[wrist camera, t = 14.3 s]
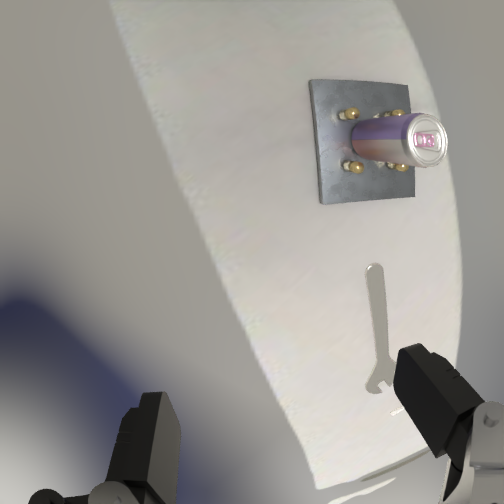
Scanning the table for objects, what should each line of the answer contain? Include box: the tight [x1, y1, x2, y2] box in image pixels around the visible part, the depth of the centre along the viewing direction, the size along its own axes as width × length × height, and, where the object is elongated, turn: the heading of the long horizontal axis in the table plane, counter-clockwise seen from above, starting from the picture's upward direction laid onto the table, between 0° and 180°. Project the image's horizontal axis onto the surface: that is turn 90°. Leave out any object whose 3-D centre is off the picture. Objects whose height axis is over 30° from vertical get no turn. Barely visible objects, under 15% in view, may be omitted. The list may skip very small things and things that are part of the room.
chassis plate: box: [309, 80, 415, 205], centre depth 40 cm, size 18×16×5 cm
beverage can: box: [352, 113, 448, 168], centre depth 33 cm, size 6×6×15 cm
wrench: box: [365, 263, 396, 394], centre depth 54 cm, size 8×32×1 cm, turn 17°
